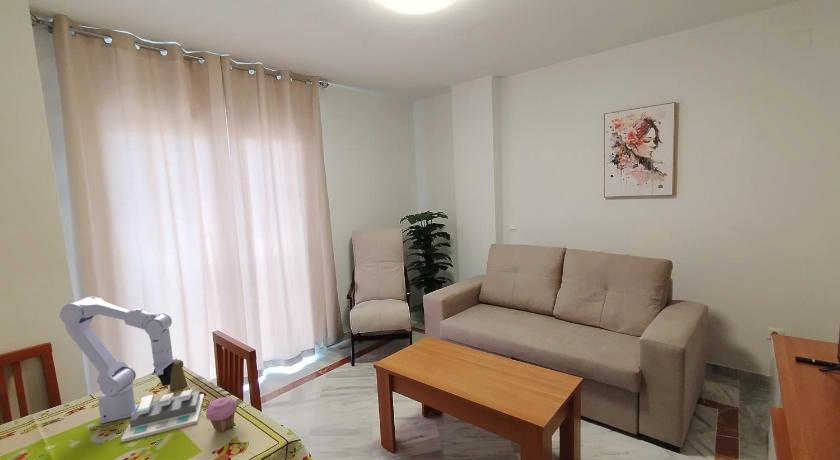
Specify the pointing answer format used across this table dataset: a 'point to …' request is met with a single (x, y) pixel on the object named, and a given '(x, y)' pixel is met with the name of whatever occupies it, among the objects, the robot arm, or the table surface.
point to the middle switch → (166, 400)
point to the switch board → (170, 425)
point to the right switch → (185, 395)
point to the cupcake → (221, 413)
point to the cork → (177, 376)
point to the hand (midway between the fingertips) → (166, 384)
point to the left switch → (145, 404)
